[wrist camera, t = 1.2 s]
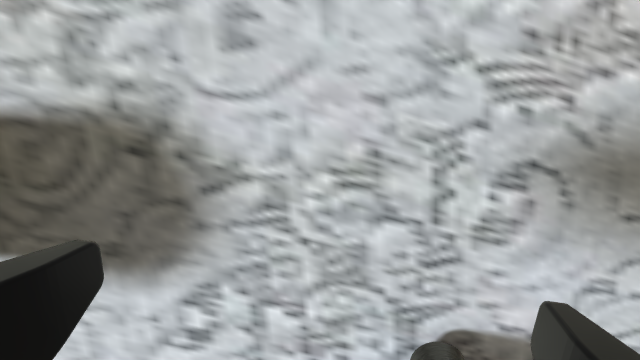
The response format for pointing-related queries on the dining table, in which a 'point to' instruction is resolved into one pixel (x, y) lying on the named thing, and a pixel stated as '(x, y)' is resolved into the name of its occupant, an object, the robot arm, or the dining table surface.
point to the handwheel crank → (437, 352)
